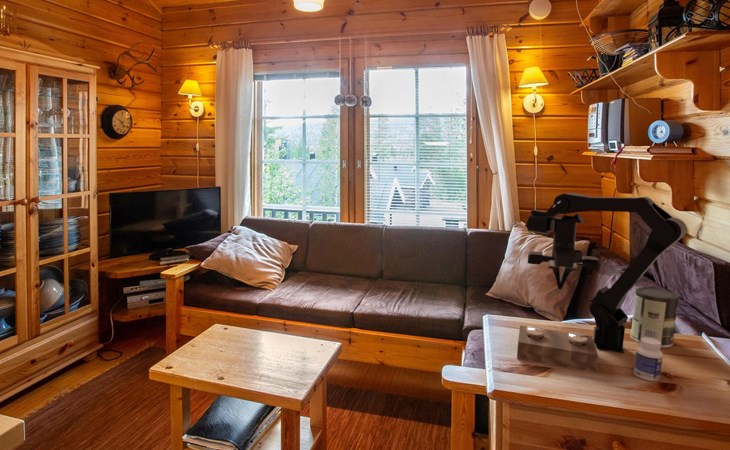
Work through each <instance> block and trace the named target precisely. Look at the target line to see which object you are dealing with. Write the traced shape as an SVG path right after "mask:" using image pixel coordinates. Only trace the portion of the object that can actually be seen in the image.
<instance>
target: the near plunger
mask: <svg viewBox="0 0 730 450" xmlns="http://www.w3.org/2000/svg"><path fill="white" fill-rule="evenodd" d="M587 335H588V334H585V333H583V332H578V331H570V332H568V340H569V341H570V342H572V344H575V345H584V344H587V339H588V336H589V335H588V336H587Z"/></svg>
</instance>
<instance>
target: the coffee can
mask: <svg viewBox="0 0 730 450" xmlns="http://www.w3.org/2000/svg"><path fill="white" fill-rule="evenodd" d="M634 292H635V294H634V296H635V297H634V302H633V303H634V304H633V315H632V321H631V322H632V323H631V331H630V338H631V340H634V341H635V342H637V343H639V344H641V343H640V342H641V338H644V337H647V338H653V339H656V340H658V341H660V342H661V348H663V349H665V348H671V347H673V345H674V339H675V338H674V337H675V329H676V321H677V320H676V319H677V314H678V306H679V299H680V295H679V294H678V293H676V292H673V291H669V290H666V289H662V288H661V289H660V288H655V287H637V288H636V289H635V291H634ZM661 348H660V349H661Z"/></svg>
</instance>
